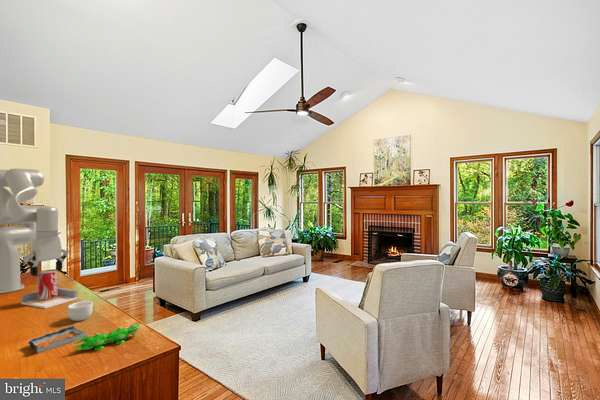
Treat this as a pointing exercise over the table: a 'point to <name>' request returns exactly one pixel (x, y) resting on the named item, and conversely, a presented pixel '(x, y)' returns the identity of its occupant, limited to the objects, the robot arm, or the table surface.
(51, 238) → the robot arm
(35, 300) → the open box
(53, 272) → the soda can
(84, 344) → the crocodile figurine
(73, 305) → the teacup
